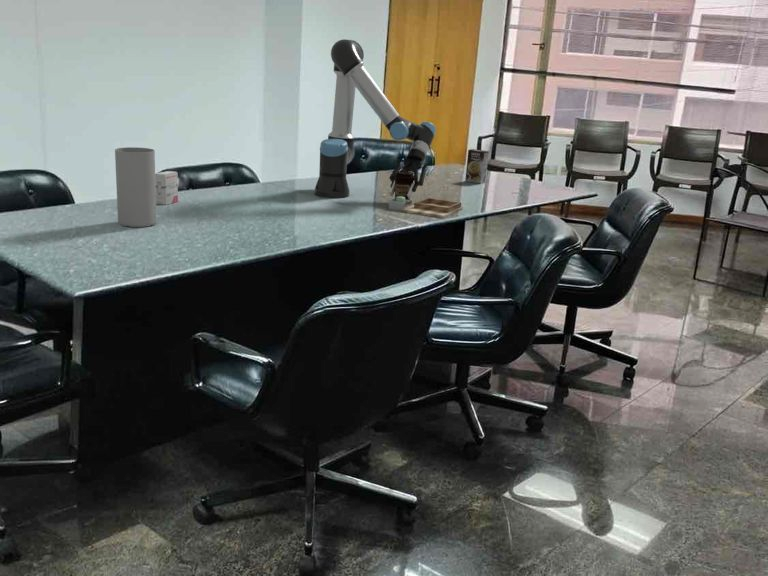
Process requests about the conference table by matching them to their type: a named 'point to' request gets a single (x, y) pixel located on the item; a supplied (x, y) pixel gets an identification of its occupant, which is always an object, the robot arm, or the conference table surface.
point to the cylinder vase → (136, 186)
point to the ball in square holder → (399, 204)
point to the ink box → (166, 187)
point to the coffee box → (477, 166)
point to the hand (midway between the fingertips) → (399, 195)
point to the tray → (434, 207)
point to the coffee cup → (403, 183)
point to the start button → (400, 199)
